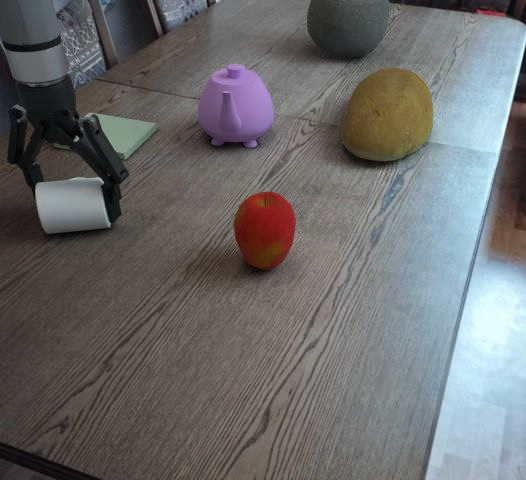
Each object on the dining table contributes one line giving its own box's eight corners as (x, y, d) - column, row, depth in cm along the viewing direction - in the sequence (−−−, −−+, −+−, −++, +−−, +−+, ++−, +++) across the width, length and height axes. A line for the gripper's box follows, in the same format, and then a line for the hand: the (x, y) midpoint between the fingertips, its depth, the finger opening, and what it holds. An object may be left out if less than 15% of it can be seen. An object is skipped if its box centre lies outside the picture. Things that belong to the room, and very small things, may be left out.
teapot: (267, 166, 106) (268, 92, 96) (187, 161, 107) (180, 88, 97) (278, 117, 121) (280, 49, 111) (208, 113, 122) (204, 45, 112)
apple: (254, 239, 89) (254, 170, 80) (304, 256, 86) (309, 187, 77) (223, 269, 84) (219, 199, 75) (275, 289, 80) (277, 219, 72)
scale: (51, 147, 110) (47, 133, 108) (89, 118, 120) (86, 104, 117) (124, 160, 107) (121, 146, 105) (157, 129, 116) (155, 115, 114)
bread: (332, 164, 106) (337, 112, 99) (353, 93, 130) (359, 47, 123) (428, 176, 104) (441, 124, 96) (432, 101, 127) (443, 55, 120)
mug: (111, 237, 89) (101, 193, 83) (47, 243, 88) (32, 199, 82) (110, 198, 97) (101, 155, 92) (52, 204, 96) (39, 161, 90)
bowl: (291, 56, 147) (294, -9, 136) (327, 35, 159) (332, -26, 148) (363, 73, 139) (372, 5, 128) (395, 49, 151) (406, -15, 141)
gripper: (136, 77, 76) (157, 212, 91) (-16, 57, 81) (28, 187, 96) (108, 98, 71) (136, 237, 86) (-51, 75, 76) (1, 209, 91)
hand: (79, 211), depth 91 cm, fingers open, 13 cm apart
